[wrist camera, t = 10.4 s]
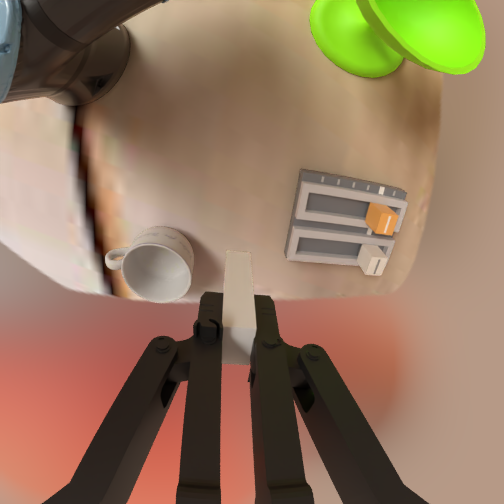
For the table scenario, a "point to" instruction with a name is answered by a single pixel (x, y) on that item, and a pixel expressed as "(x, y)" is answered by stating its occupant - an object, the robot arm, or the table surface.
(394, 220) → the fader
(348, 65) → the wineglass
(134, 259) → the teacup
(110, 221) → the table surface
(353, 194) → the console
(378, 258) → the fader
